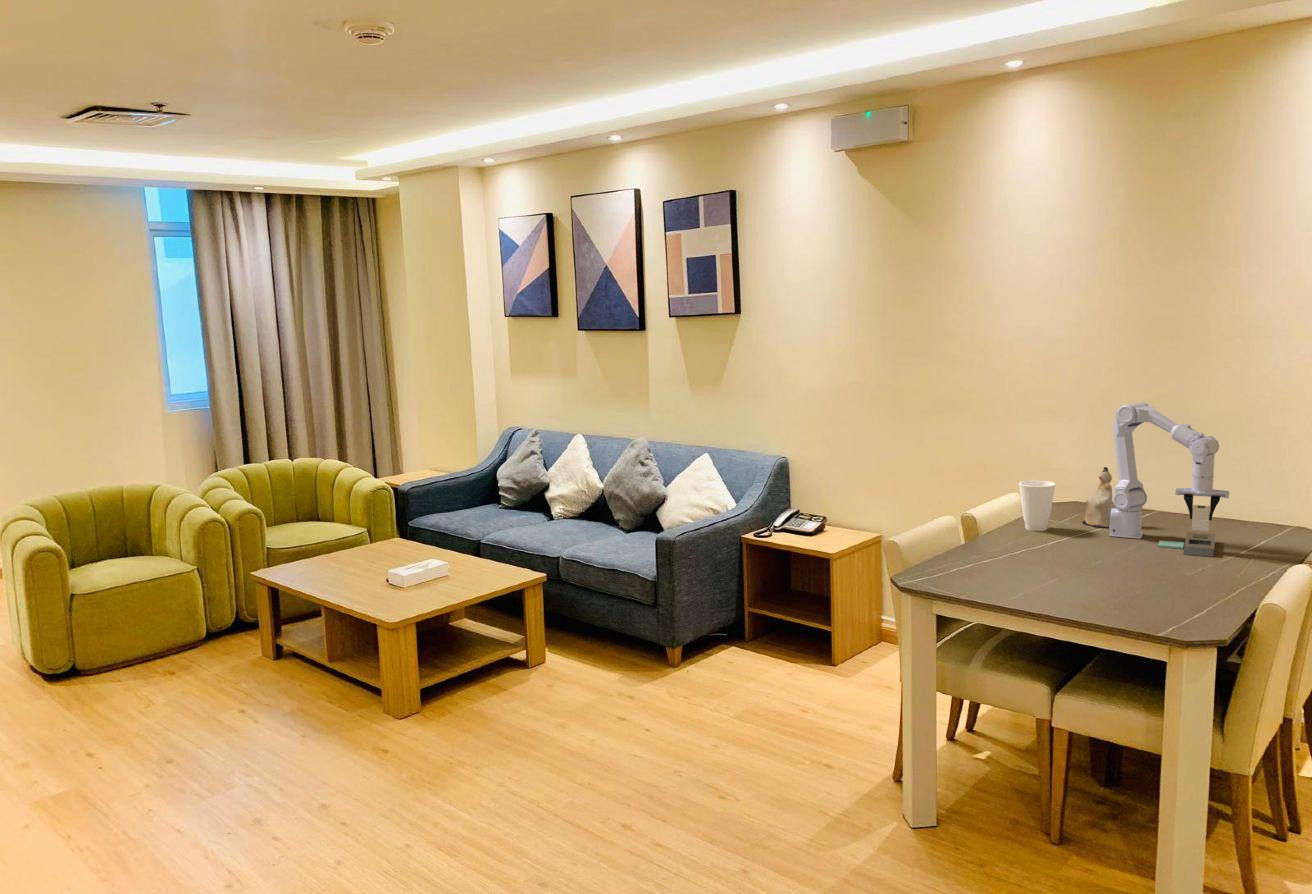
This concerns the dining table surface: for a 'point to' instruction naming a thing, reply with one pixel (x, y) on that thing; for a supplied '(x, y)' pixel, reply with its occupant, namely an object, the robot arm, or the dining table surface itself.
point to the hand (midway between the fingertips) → (1200, 519)
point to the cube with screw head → (1200, 517)
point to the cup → (1036, 503)
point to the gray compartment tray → (1199, 544)
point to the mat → (1171, 544)
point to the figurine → (1100, 503)
